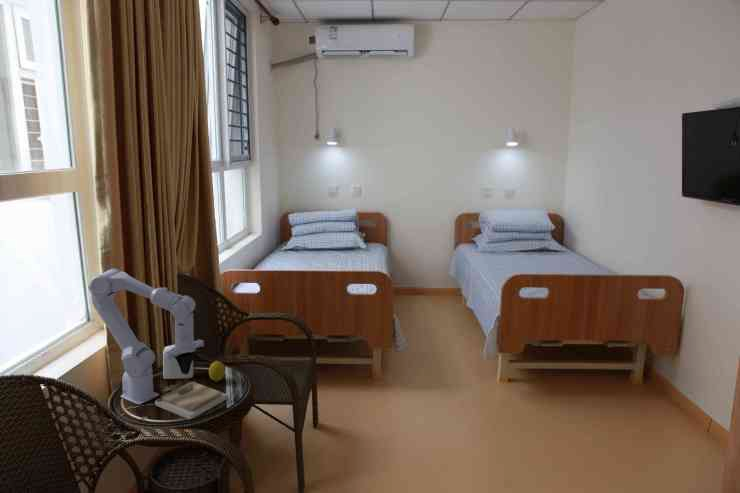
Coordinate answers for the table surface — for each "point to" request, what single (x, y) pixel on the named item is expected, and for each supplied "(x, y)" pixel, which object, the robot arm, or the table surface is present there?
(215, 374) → the lemon
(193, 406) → the board
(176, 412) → the light grey square plate
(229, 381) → the table surface
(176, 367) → the photo printer
